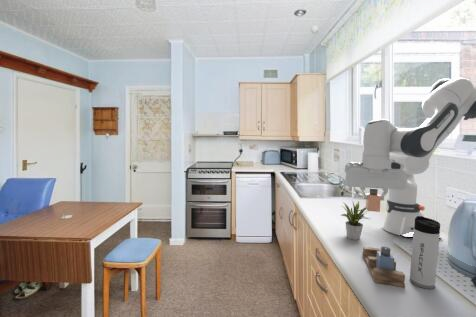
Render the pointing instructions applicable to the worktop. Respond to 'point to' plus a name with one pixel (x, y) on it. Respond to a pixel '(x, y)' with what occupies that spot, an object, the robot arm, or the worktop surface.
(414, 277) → the travel mug
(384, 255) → the slate plug
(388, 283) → the slotted wooden block
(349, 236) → the house plant
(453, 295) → the worktop surface
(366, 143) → the robot arm
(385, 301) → the worktop surface
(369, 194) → the pink square bottle
